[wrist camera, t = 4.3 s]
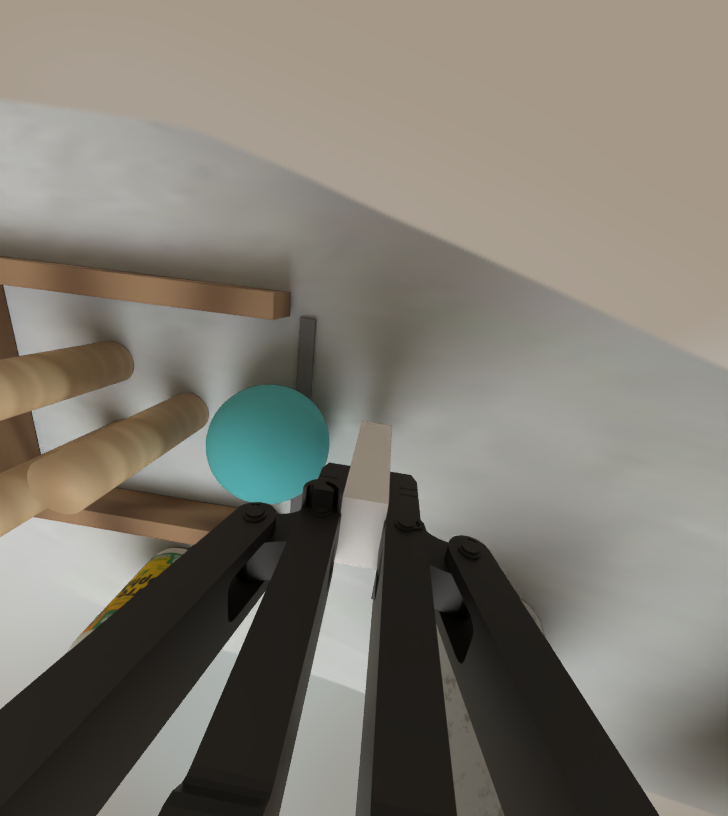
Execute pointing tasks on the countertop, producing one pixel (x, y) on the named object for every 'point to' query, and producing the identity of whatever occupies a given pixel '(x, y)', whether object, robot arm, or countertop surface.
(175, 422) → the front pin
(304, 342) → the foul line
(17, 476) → the pin
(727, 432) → the countertop surface
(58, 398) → the pin
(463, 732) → the speckled white cylinder
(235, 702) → the robot arm
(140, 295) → the frame
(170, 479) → the countertop surface
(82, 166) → the countertop surface
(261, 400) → the ball
